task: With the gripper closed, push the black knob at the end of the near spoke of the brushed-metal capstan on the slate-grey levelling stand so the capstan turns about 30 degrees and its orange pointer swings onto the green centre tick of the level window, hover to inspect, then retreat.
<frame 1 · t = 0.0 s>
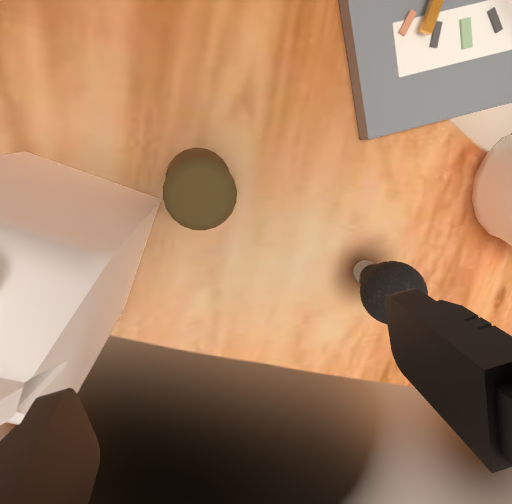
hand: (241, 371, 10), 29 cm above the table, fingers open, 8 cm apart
milk: (79, 234, 37), on the table
light bulb: (360, 267, 43), on the table
cork: (198, 181, 38), on the table
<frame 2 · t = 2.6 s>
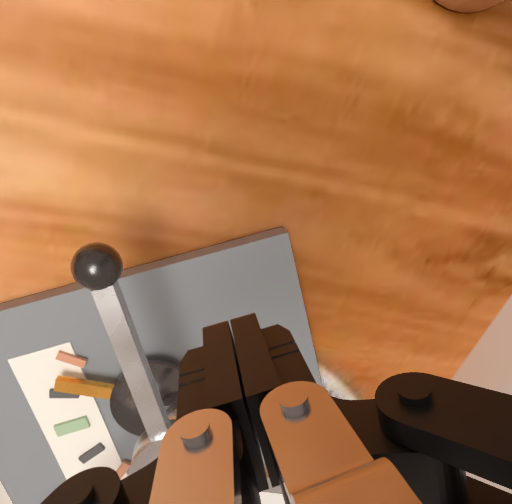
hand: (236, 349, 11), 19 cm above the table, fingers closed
capstan: (217, 440, 27), point 7 cm above the table, hinge at -30.0°
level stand: (156, 383, 33), on the table
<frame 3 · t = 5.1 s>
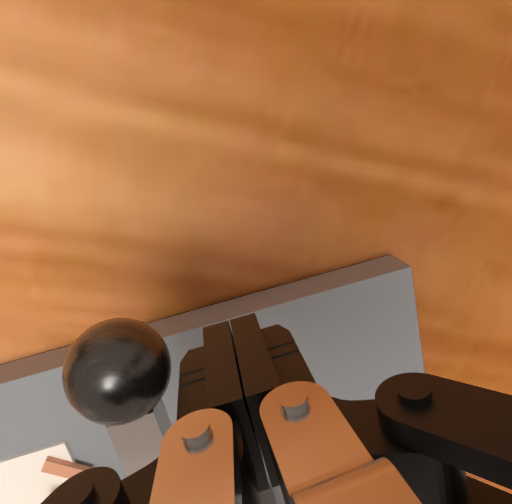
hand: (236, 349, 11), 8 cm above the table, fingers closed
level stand: (192, 485, 22), on the table
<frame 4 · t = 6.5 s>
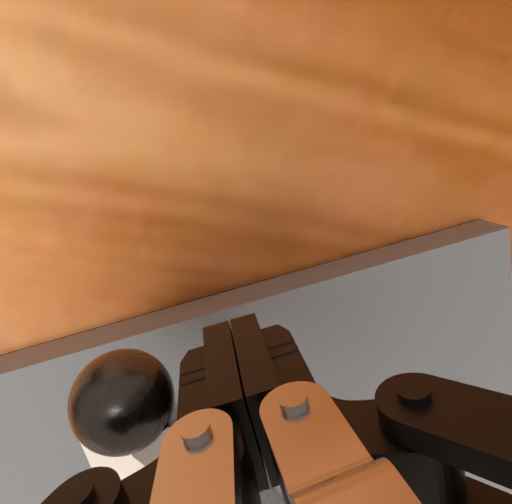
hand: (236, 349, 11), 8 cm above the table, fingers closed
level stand: (278, 450, 22), on the table
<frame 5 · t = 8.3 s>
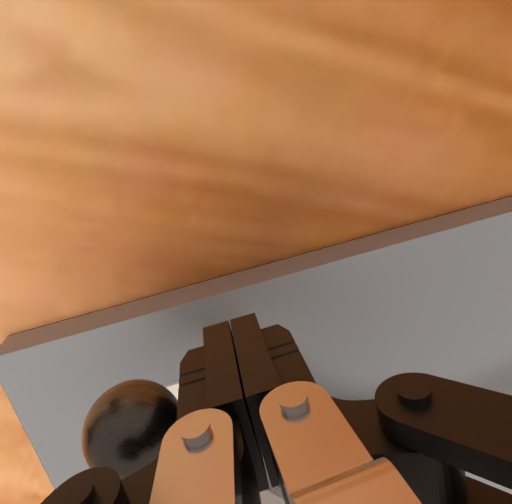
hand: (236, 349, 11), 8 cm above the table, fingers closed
capstan: (480, 492, 16), point 7 cm above the table, hinge at 8.4°, touching gripper
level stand: (319, 423, 22), on the table
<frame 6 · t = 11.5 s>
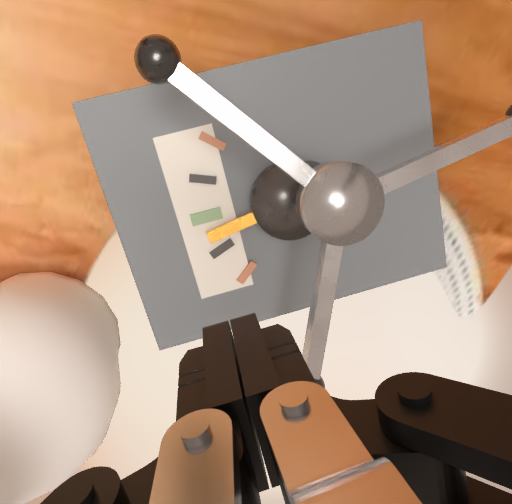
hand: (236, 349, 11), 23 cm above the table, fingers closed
vase: (47, 337, 34), on the table
capstan: (362, 180, 27), point 7 cm above the table, hinge at 9.6°
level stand: (277, 192, 34), on the table
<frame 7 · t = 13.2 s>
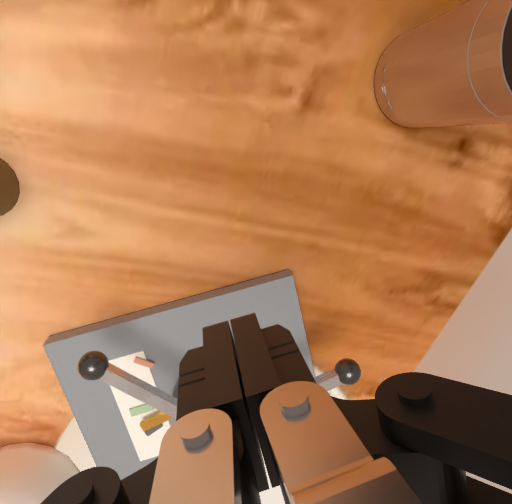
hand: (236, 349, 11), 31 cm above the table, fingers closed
vase: (27, 485, 46), on the table
capstan: (244, 400, 40), point 7 cm above the table, hinge at 9.6°
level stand: (197, 379, 46), on the table
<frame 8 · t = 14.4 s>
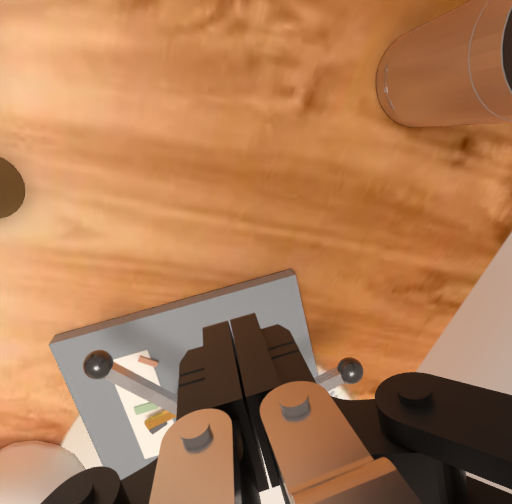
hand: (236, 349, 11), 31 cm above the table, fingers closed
vase: (34, 482, 47), on the table
capstan: (247, 399, 40), point 7 cm above the table, hinge at 9.6°
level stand: (201, 378, 46), on the table
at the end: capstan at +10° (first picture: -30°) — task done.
